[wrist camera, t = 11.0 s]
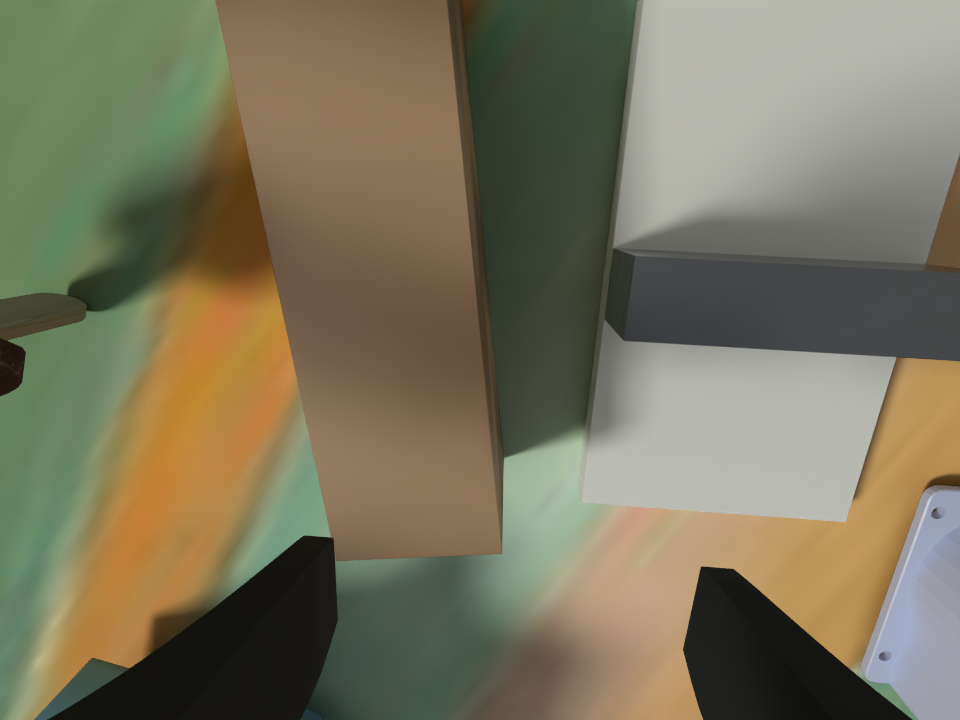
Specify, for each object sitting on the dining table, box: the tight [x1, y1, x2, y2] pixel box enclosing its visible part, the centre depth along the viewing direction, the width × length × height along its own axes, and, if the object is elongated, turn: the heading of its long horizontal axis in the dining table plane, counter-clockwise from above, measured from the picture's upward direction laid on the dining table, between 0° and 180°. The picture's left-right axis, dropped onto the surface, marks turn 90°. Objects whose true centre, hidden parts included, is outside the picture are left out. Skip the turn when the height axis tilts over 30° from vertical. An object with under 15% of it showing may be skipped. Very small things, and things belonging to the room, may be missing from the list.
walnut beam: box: [215, 0, 504, 561], centre depth 15 cm, size 16×5×6 cm, turn 6°
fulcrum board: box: [578, 0, 960, 522], centre depth 15 cm, size 17×10×4 cm, turn 177°
